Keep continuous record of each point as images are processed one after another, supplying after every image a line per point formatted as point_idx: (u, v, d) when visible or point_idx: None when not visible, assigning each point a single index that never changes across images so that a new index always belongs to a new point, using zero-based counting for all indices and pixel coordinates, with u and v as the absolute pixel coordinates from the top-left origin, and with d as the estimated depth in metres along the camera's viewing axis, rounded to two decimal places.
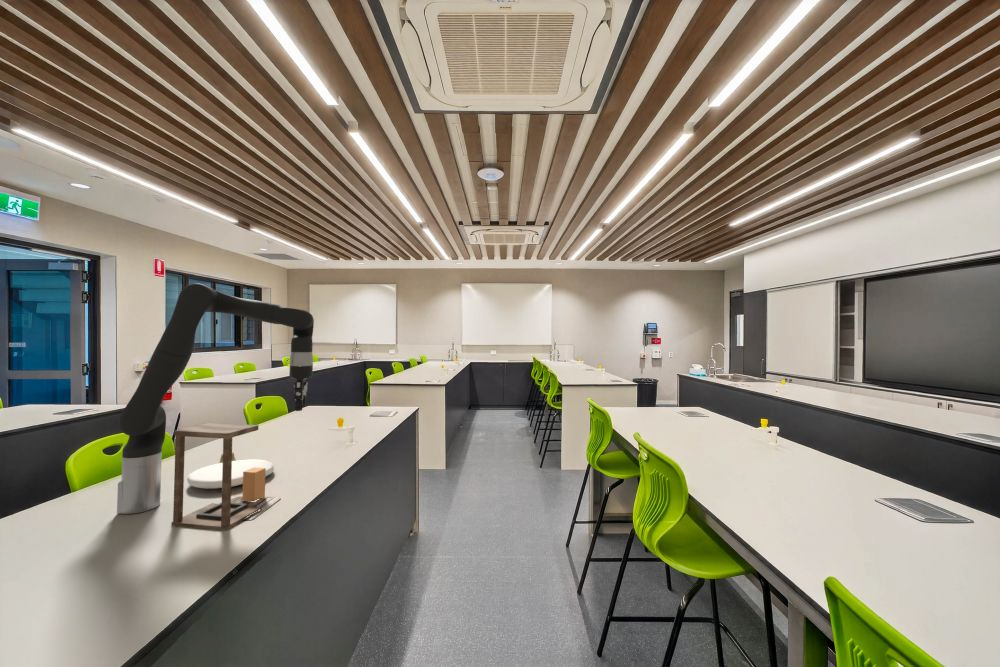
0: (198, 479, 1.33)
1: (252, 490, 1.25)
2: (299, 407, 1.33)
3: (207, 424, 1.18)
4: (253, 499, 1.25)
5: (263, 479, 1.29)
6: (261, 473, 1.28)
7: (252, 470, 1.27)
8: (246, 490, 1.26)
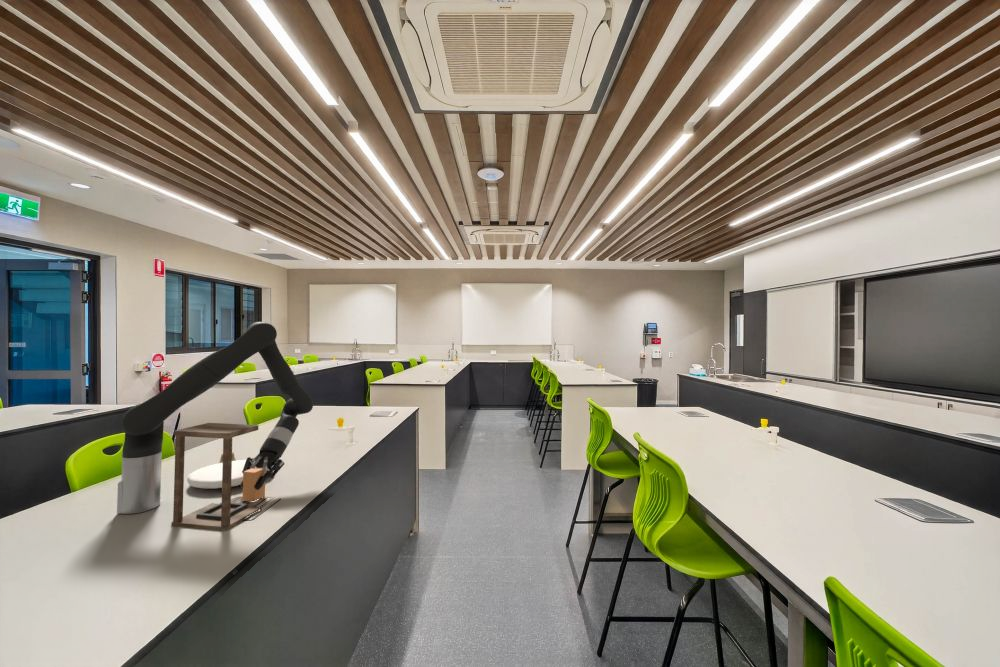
0: (198, 479, 1.33)
1: (252, 490, 1.25)
2: (260, 485, 1.26)
3: (207, 424, 1.18)
4: (253, 499, 1.25)
5: None
6: (261, 473, 1.28)
7: (252, 470, 1.27)
8: (246, 490, 1.26)
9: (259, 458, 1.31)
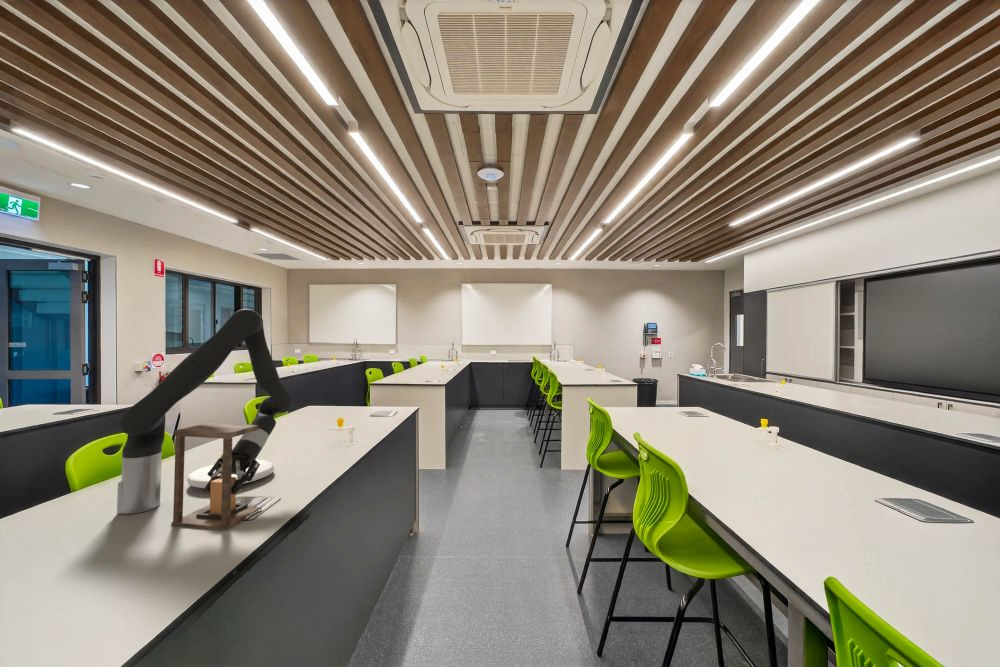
0: (198, 479, 1.33)
1: (220, 502, 1.13)
2: (236, 489, 1.15)
3: (207, 424, 1.18)
4: None
5: None
6: (231, 483, 1.16)
7: (221, 479, 1.16)
8: (214, 502, 1.14)
9: None
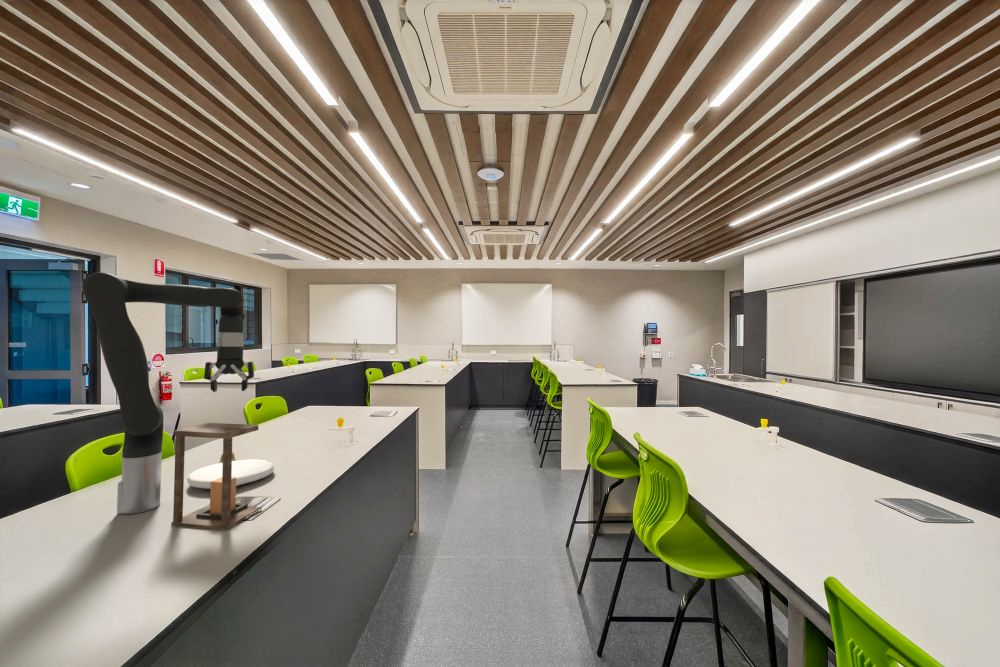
0: (198, 479, 1.33)
1: (220, 502, 1.13)
2: None
3: (207, 424, 1.18)
4: None
5: (233, 489, 1.17)
6: (231, 483, 1.16)
7: (221, 479, 1.16)
8: (214, 502, 1.14)
9: (223, 366, 1.31)
